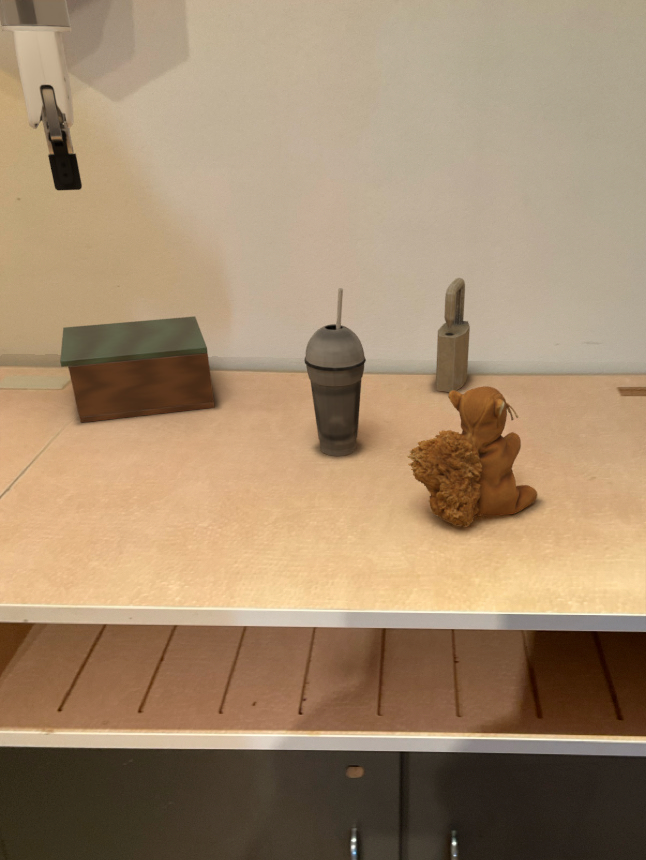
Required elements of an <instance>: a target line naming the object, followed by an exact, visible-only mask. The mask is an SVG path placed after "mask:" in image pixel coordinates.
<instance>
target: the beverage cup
mask: <svg viewBox="0 0 646 860" xmlns="http://www.w3.org/2000/svg"><path fill="white" fill-rule="evenodd" d="M343 293H344V289H343V288H338V289H337V304H336V305H337V307H336V322H335V323H332V324H331V323H330V324H327V325H323V326H322V327H319V329H317V330H316V331H315V332H314V333H313V334H312V335H311V337H310V338H309V340H308V342H307V344H306V348H305V356H304V360H303V361H304V364H305V366H306V372H307V375H308V379H309V381H310V388H311V389H310V390H311V394H312V402H313V409H314V416H315V423H316V429H317V430H316V431H317V438H318V441H319V448H320V451H321V452H322V453H323V454H325V455H326V456H332V457H343V456H348V455H350V454H353V453H354V452H356V449H357V441H358V435H359V423H360V422H359V421H360V405H361V392H362V379H363V377H364V371H365V364H366V361H367V360H366V357H365V351H364V347H363V344H362V341H361V339H360V338H359V336H358V335H357V333H355V332H354V331H353V330H352V329H351V328H349V327H347V326H345V325H341V324H342V314H343V313H342V312H343Z"/></svg>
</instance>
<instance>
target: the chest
mask: <svg viewBox="0 0 646 860" xmlns="http://www.w3.org/2000/svg"><path fill="white" fill-rule="evenodd" d="M67 367H68V373H69V377H70V381H71V386H72V390H73V395H74V399H75V403H76V408H77V412H78V417H79V421H80V423H91V422H98V421H107V420H116V419H126V418H134V417H142V416H143V417H144V416H151V415H160V414H168V413H177V412H185V411H196V410H203V409H212V408H213V409H214V408H215V400H214V392H213V384H212V378H211V377H212V376H211V369H210V368H211V367H210V360H209V353H208V352H207V353H200V354H190V355H179V356H169V357H159V358H149V359H138V360H128V361H118V362H108V363H97V364H87V365H77V366H67Z"/></svg>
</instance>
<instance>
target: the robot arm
mask: <svg viewBox="0 0 646 860" xmlns="http://www.w3.org/2000/svg"><path fill="white" fill-rule="evenodd" d="M69 14H70V13H69V9H68V2H67V0H0V25H1V26H0V27H1V31H2V32H12V39H13V45H14V53H15V59H16V64H17V69H18V74H19V80H20V84H21V89H22V94H23V99H24V104H25V107H26V114H27V120H28V125H29V127H31V128H32V129H33V130H37V129H38V127H39V126H40V123H41V122H42V126H43V132H44V136H45V140H46V144H47V149H48V155H47V156H48V161H49V167H50V171H51V177H52V181H53V185H54V189H55V190H56V191H80V190H82V188H83V183H82V179H81V173H80V168H79V167H80V166H79V163H78V159H77V157H78V156H77V153H75V152H74V146H73V141H72V135H71V131H70V130H71V129H70V128H71V127H72V126H73V125H74V123H75V122H74V106H73V105H74V104H73V95H72V87H71V83H70V82H71V81H70V76H69V75H70V74H69V70H68V69H69V68H68V64H67V58H66V51H65V48H64V47H65V46H64V41H63V36H62V33H73V31H72V25H71V20H70V15H69Z"/></svg>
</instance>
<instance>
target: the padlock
mask: <svg viewBox="0 0 646 860" xmlns="http://www.w3.org/2000/svg"><path fill="white" fill-rule="evenodd" d="M465 296H466V283H465V280H464V279H463V278H462V277H456V278H455V279H454V280H453V281H452V282H451V283H450V284H449V285H448V287H447V288H446V291H445V297H444V321H445V322H444V323H442V324H441V326H440V327H439V329H438V330H437V339H436V341H437V343H436V344H437V345H436V366H435V367H436V370H435V371H436V372H435V386H436V391H438V392H444V393H445V392H447V393H450V392H451V391H453V390H455V391H458V390H460V389H461V388H463V386H464V385H465V383H466V382H467V380H468V368H469V367H468V366H469V365H468V364H469V348H470V333H471V332H470V331H471V330H470V329H471V325H470V322H469V320H464V319H465V318H464V317H465V315H464V314H465Z"/></svg>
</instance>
